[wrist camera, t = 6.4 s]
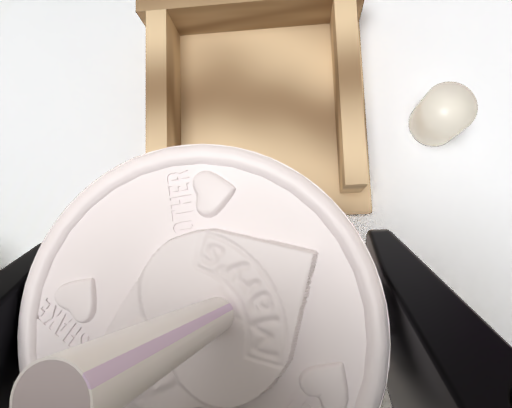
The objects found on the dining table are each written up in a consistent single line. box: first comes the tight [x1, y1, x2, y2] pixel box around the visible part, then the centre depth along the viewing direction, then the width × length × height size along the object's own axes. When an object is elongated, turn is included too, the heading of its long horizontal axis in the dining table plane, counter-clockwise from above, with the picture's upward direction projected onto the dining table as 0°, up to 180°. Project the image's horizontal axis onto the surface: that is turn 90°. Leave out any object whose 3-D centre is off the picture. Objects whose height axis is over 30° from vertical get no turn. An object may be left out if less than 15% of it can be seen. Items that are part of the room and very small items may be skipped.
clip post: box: [409, 82, 478, 147], centre depth 21 cm, size 2×2×2 cm
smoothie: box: [9, 144, 391, 408], centre depth 9 cm, size 6×6×14 cm
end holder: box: [136, 0, 372, 215], centre depth 21 cm, size 11×11×3 cm
